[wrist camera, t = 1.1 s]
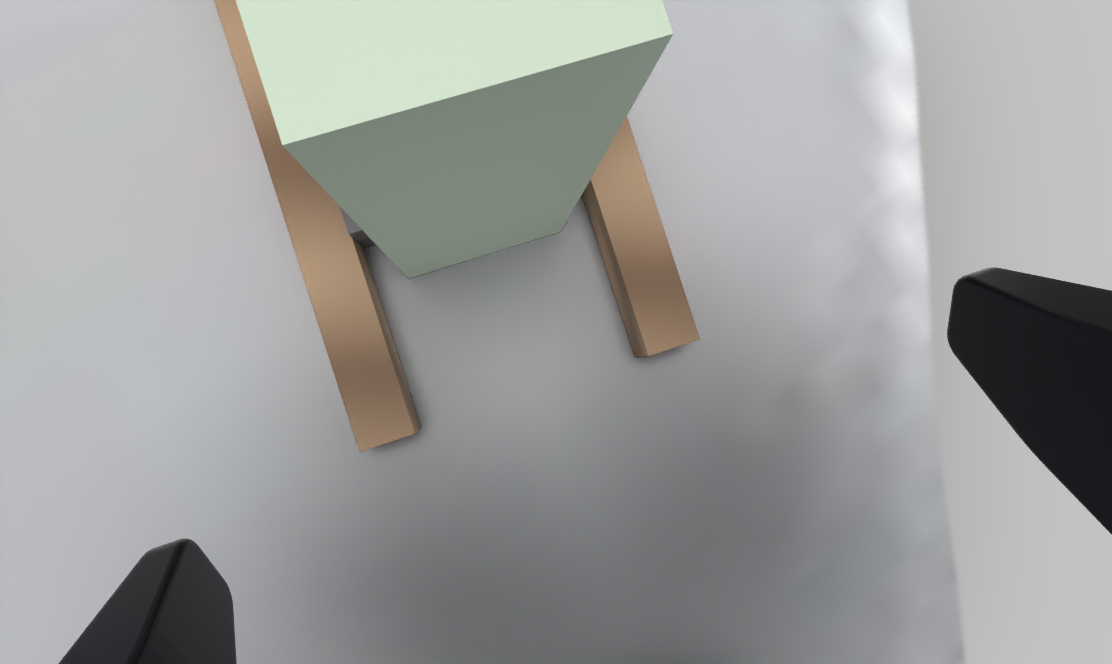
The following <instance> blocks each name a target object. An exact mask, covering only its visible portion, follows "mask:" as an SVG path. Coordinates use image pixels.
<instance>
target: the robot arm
mask: <svg viewBox="0 0 1112 664" xmlns="http://www.w3.org/2000/svg"><path fill="white" fill-rule="evenodd" d="M947 337H948V342H949V345H950V347H951V349H952V351H953V353H954V354H955V356H956V357H957V358H958V359H959V361H960V362H961V363H962V365H963V366H964V367H965V368H966V370H967V371H968V372H969V373H970V375H971V376H972V377H973V379H974V380H975V381H976V382H977V384H978V385H979V386H980V387H981V389H982V390H983V391H984V392H985V394H986V395H987V396H988V398H989V399H990V400H991V401H992V402H993V404H994V405H995V406H996V408H997V409H998V410H999V411H1000V413H1001V414H1002V415H1003V417H1004V418H1005V419H1006V420H1007V421H1008V423H1009V424H1010V425H1011V426H1012V428H1013V429H1014V430H1015V432H1016V433H1017V434H1018V435H1019V437H1020V438H1021V439H1022V440H1023V441H1024V442H1025V444H1026V445H1027V446H1028V447H1029V448H1030V450H1031V451H1032V452H1033V453H1034V454H1035V455H1036V456H1037V457H1038V459H1039V460H1040V461H1041V462H1042V463H1043V464H1044V465H1045V466H1046V467H1047V468H1048V469H1049V470H1050V471H1051V472H1052V473H1053V474H1054V475H1055V477H1056V478H1058V480H1059V481H1060V482H1061V483H1062V484H1063V485H1064V486H1065V487H1066V488H1067V489H1068V490H1069V491H1070V492H1071V493H1072V494H1073V495H1074V496H1075V497H1076V498H1077V499H1078V500H1079V501H1080V502H1081V503H1082V504H1083V505H1084V506H1085V507H1086V508H1087V510H1088V511H1089V512H1090V513H1091V514H1092V515H1093V516H1094V517H1095V518H1096V519H1097V520H1098V521H1099V522H1100V523H1101V524H1102V525H1103V526H1104V527H1105V528H1106V529H1107V530H1108V531H1109V532H1110V533H1111V534H1112V291H1110V290H1105V289H1100V288H1095V287H1091V286H1086V285H1081V284H1076V283H1071V282H1066V281H1061V280H1056V279H1051V278H1045V277H1041V276H1036V275H1031V274H1026V273H1021V272H1016V271H1011V270H1006V269H1001V268H986V269H983V270H980V271H977V272H974V273H971V274H969V275H966V276H963V277H961V278H960V279H958V281H957V282H956V284H955V285H954V289H953V294H952V302H951V309H950V316H949V323H948V329H947ZM59 664H236V648H235V631H234V614H233V601H232V596H231V593H230V590H229V587H228V585H227V583H226V582H225V580H224V579H223V577H222V576H221V575H220V573H219V572H218V571H217V570H216V568H215V567H214V566H213V564H212V563H211V562H210V560H209V559H208V558H207V556H206V555H205V554H204V553H203V551H202V550H201V549H200V547H199V546H198V545H197V544H196V543H195V542H194V541H192V540H190V539H180V540H177V541H174V542H171V543H168V544H165V545H162V546H159V547H156V548H153V549H151V550H149V551H148V552H147V553H145V555H144V556H143V557H142V558H141V559H140V560H139V562H138V563H137V564H136V565H135V567H134V568H133V569H132V571H131V572H130V573H129V574H128V576H127V577H126V578H125V579H124V581H123V582H122V583H121V585H120V586H119V587H118V588H117V590H116V591H115V592H114V594H113V595H112V596H111V597H110V599H109V600H108V601H107V602H106V604H105V605H104V606H103V608H102V609H101V610H100V611H99V613H98V614H97V615H96V617H95V618H94V619H93V620H92V622H91V623H90V624H89V625H88V627H87V628H86V629H85V631H84V632H83V633H82V634H81V636H80V637H79V638H78V640H77V641H76V642H75V643H74V645H73V646H72V647H71V648H70V650H69V651H68V652H67V654H66V655H65V656H64V657H63V659H62V660H61V661H60V663H59Z"/></svg>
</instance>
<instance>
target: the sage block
mask: <svg viewBox="0 0 1112 664" xmlns="http://www.w3.org/2000/svg"><path fill="white" fill-rule="evenodd" d="M236 3H237V6H238V9H239V12H240V15H241V18H242V22H243V25H244V28H245V31H246V34H247V37H248V40H249V43H250V46H251V49H252V53H253V56H254V59H255V62H256V65H257V68H258V71H259V74H260V77H261V80H262V84H263V87H264V90H265V93H266V96H267V99H268V102H269V105H270V108H271V111H272V115H273V118H274V121H275V124H276V127H277V130H278V133H279V136H280V139H281V142H282V145H283V146H284V147H285V149H286V150H287V151H288V152H289V153H290V154H291V155H292V156H293V157H294V158H295V159H296V160H297V161H298V162H299V163H300V164H301V166H302V167H303V168H304V169H305V170H306V171H307V172H308V173H309V174H310V175H311V176H312V177H313V178H314V179H315V180H316V181H317V182H318V184H319V185H320V186H321V187H322V188H323V189H324V190H325V191H326V192H327V193H328V194H329V195H330V196H331V197H332V198H333V199H334V201H335V202H336V203H337V204H338V205H339V206H340V207H341V208H342V209H343V210H344V211H345V212H346V213H347V214H348V215H349V216H350V218H351V219H352V220H353V221H354V222H355V223H356V224H357V225H358V226H359V227H360V228H361V229H362V230H363V231H364V232H365V233H366V234H367V236H368V237H369V238H370V239H371V240H372V241H373V242H374V243H375V244H376V245H377V246H378V247H379V248H380V249H381V250H382V251H383V253H384V254H385V255H386V256H387V257H388V258H389V259H390V260H391V261H392V262H393V263H394V264H395V265H396V266H397V267H398V268H399V269H400V271H401V272H402V273H403V274H404V275H405V276H406V277H407V278H408V279H409V278H413V277H416V276H419V275H422V274H426V273H429V272H432V271H435V270H438V269H442V268H445V267H448V266H451V265H455V264H458V263H461V262H464V261H468V260H471V259H474V258H477V257H480V256H484V255H487V254H490V253H493V252H497V251H500V250H503V249H506V248H509V247H513V246H516V245H519V244H522V243H526V242H529V241H532V240H535V239H539V238H542V237H545V236H548V235H551V234H555V233H558V232H561V231H562V229H563V227H564V225H565V224H566V222H567V220H568V218H569V217H570V215H571V213H572V211H573V209H574V208H575V206H576V204H577V202H578V201H579V199H580V197H581V195H582V194H583V192H584V190H585V188H586V187H587V185H588V183H589V181H590V180H591V178H592V176H593V174H594V172H595V171H596V169H597V167H598V165H599V164H600V162H601V160H602V158H603V157H604V155H605V153H606V151H607V150H608V148H609V146H610V144H611V142H612V141H613V139H614V137H615V135H616V134H617V132H618V130H619V128H620V127H621V125H622V123H623V121H624V120H625V118H626V116H627V114H628V112H629V111H630V109H631V107H632V105H633V104H634V102H635V100H636V98H637V97H638V95H639V93H640V91H641V90H642V88H643V86H644V84H645V82H646V81H647V79H648V77H649V75H650V74H651V72H652V70H653V68H654V67H655V65H656V63H657V61H658V60H659V58H660V56H661V54H662V53H663V51H664V49H665V47H666V45H667V44H668V42H669V40H670V38H671V37H672V35H673V32H672V29H671V26H670V23H669V20H668V17H667V14H666V11H665V8H664V5H663V2H662V0H236Z"/></svg>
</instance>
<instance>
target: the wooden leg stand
mask: <svg viewBox="0 0 1112 664" xmlns="http://www.w3.org/2000/svg"><path fill="white" fill-rule="evenodd" d="M214 1H215V4H216V8H217V11H218V14H219V17H220V20H221V23H222V26H223V29H224V32H225V35H226V39H227V42H228V45H229V48H230V51H231V54H232V57H233V60H234V63H235V67H236V70H237V73H238V76H239V79H240V82H241V85H242V88H243V91H244V95H245V98H246V101H247V104H248V107H249V110H250V113H251V116H252V119H253V123H254V126H255V129H256V132H257V135H258V138H259V141H260V144H261V147H262V151H263V154H264V157H265V160H266V163H267V166H268V169H269V172H270V175H271V179H272V182H273V185H274V188H275V191H276V194H277V197H278V200H279V203H280V206H281V210H282V213H283V216H284V219H285V222H286V225H287V228H288V231H289V234H290V238H291V241H292V244H293V247H294V250H295V253H296V256H297V259H298V262H299V266H300V269H301V272H302V275H303V278H304V281H305V284H306V287H307V290H308V294H309V297H310V300H311V303H312V306H313V309H314V312H315V315H316V318H317V322H318V325H319V328H320V331H321V334H322V337H323V340H324V343H325V346H326V349H327V353H328V356H329V359H330V362H331V365H332V368H333V371H334V374H335V377H336V381H337V384H338V387H339V390H340V393H341V396H342V399H343V402H344V405H345V409H346V412H347V415H348V418H349V421H350V424H351V427H352V430H353V433H354V437H355V440H356V443H357V446H358V449H359V452H362V451H365V450H368V449H371V448H374V447H377V446H380V445H383V444H386V443H389V442H392V441H395V440H398V439H401V438H404V437H407V436H410V435H413V434H416V433H417V432H418V431H419V430H420V429H421V428H422V427H421V424H420V421H419V418H418V415H417V412H416V409H415V405H414V402H413V399H412V396H411V393H410V390H409V387H408V384H407V381H406V378H405V375H404V371H403V368H402V365H401V362H400V359H399V356H398V353H397V350H396V347H395V344H394V340H393V337H392V334H391V331H390V328H389V325H388V322H387V319H386V316H385V313H384V309H383V306H382V303H381V300H380V297H379V294H378V291H377V288H376V285H375V282H374V278H373V275H372V272H371V269H370V266H369V263H368V260H367V257H366V254H365V251H364V248H366V247H369V246H373V245H376V244H375V243H374V242H373V241H372V240H371V239H370V238H369V237H368V236H367V234H366V233H365V232H364V231H363V230H362V229H361V228H360V227H359V226H358V225H357V224H356V223H355V222H354V221H353V220H352V219H351V218H350V216H349V215H348V214H347V213H346V212H345V211H344V210H343V209H342V208H341V207H340V206H339V205H338V204H337V203H336V202H335V201H334V199H333V198H332V197H331V196H330V195H329V194H328V193H327V192H326V191H325V190H324V189H323V188H322V187H321V186H320V185H319V184H318V182H317V181H316V180H315V179H314V178H313V177H312V176H311V175H310V174H309V173H308V172H307V171H306V170H305V169H304V168H303V167H302V166H301V164H300V163H299V162H298V161H297V160H296V159H295V158H294V157H293V156H292V155H291V154H290V153H289V152H288V151H287V150H286V149H285V147H284V146H283V145H282V142H281V139H280V136H279V133H278V130H277V127H276V124H275V121H274V118H273V115H272V111H271V108H270V105H269V102H268V99H267V96H266V93H265V90H264V87H263V84H262V80H261V77H260V74H259V71H258V68H257V65H256V62H255V59H254V56H253V53H252V49H251V46H250V43H249V40H248V37H247V34H246V31H245V28H244V25H243V22H242V18H241V15H240V12H239V9H238V6H237V3H236V0H214ZM582 197H583V200H584V203H585V206H586V209H587V212H588V215H589V218H590V221H591V224H592V227H593V230H594V233H595V237H596V240H597V243H598V246H599V249H600V252H601V255H602V258H603V261H604V264H605V267H606V270H607V273H608V276H609V279H610V283H611V286H612V289H613V292H614V295H615V298H616V301H617V304H618V307H619V310H620V313H621V316H622V319H623V322H624V325H625V328H626V332H627V335H628V338H629V341H630V344H631V347H632V350H633V353H634V356H635V357H645V356H651V355H654V354H657V353H660V352H663V351H666V350H669V349H672V348H675V347H678V346H681V345H684V344H687V343H690V342H693V341H696V340H699V339H700V338H699V335H698V332H697V329H696V326H695V323H694V320H693V317H692V314H691V311H690V308H689V305H688V302H687V299H686V296H685V293H684V290H683V287H682V283H681V280H680V277H679V274H678V271H677V268H676V265H675V262H674V259H673V256H672V253H671V250H670V247H669V244H668V241H667V238H666V235H665V232H664V229H663V225H662V222H661V219H660V216H659V213H658V210H657V207H656V204H655V201H654V198H653V195H652V192H651V189H650V186H649V183H648V180H647V177H646V174H645V170H644V167H643V164H642V161H641V158H640V155H639V152H638V149H637V146H636V143H635V140H634V137H633V134H632V131H631V128H630V125H629V122H628V119H627V116H626V118H625V120H624V121H623V123H622V125H621V127H620V128H619V130H618V132H617V134H616V135H615V137H614V139H613V141H612V142H611V144H610V146H609V148H608V150H607V151H606V153H605V155H604V157H603V158H602V160H601V162H600V164H599V165H598V167H597V169H596V171H595V172H594V174H593V176H592V178H591V180H590V181H589V183H588V185H587V187H586V188H585V190H584V192H583V194H582Z"/></svg>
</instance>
